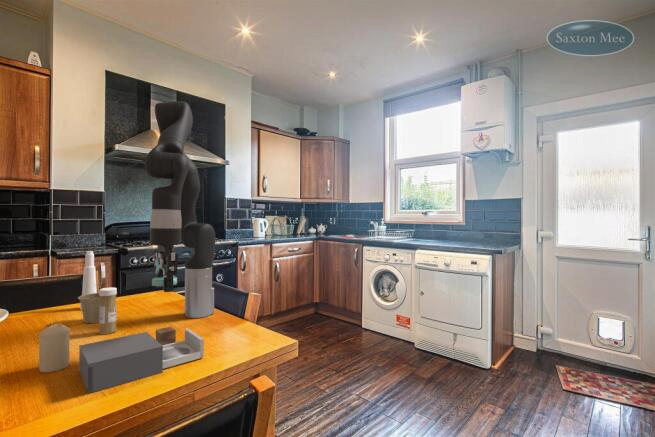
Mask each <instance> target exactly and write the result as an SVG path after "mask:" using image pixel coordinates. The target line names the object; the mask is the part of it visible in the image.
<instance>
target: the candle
mask: <svg viewBox="0 0 655 437" xmlns="http://www.w3.org/2000/svg"><path fill="white" fill-rule="evenodd" d="M38 337H39V338H38V340H39V341H38V344H39V345H38V347H39V348H38V356H39V357H38V370H39V372H40V373H44V374H45V373H53V372H58V371H61V370H64V369H66V368H68V367H69V365H70V328H69V327H68V326H66V325H65V324H62V323H60V322H58V323H54V324H52V325H51V326H47V327H45V328H44V329H43V330H41V331H40V333H39V334H38Z"/></svg>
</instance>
